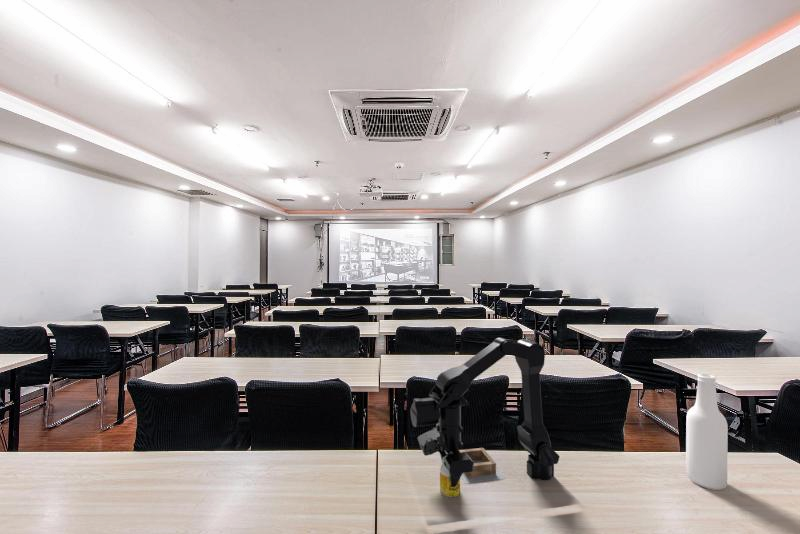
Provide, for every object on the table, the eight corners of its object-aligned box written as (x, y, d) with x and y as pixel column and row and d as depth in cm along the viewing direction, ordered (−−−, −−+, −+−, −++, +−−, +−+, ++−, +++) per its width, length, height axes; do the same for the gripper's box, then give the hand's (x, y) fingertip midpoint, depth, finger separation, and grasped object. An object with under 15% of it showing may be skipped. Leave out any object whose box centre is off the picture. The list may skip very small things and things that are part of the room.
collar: (483, 457, 110) (483, 447, 110) (495, 473, 101) (495, 463, 101) (456, 460, 108) (456, 450, 108) (466, 477, 100) (466, 466, 100)
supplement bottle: (450, 486, 98) (450, 451, 98) (464, 496, 93) (464, 460, 93) (435, 493, 95) (435, 457, 95) (449, 504, 90) (449, 467, 90)
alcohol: (692, 468, 106) (693, 369, 105) (731, 484, 98) (732, 377, 98) (680, 478, 101) (681, 374, 100) (721, 495, 93) (721, 382, 93)
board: (484, 456, 113) (484, 452, 113) (505, 482, 99) (505, 478, 99) (448, 460, 111) (448, 456, 111) (464, 487, 97) (464, 483, 97)
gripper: (412, 409, 101) (412, 463, 102) (430, 442, 83) (430, 507, 83) (449, 406, 103) (449, 459, 104) (474, 437, 85) (474, 501, 85)
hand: (450, 479), depth 94 cm, fingers closed on supplement bottle, 5 cm apart
